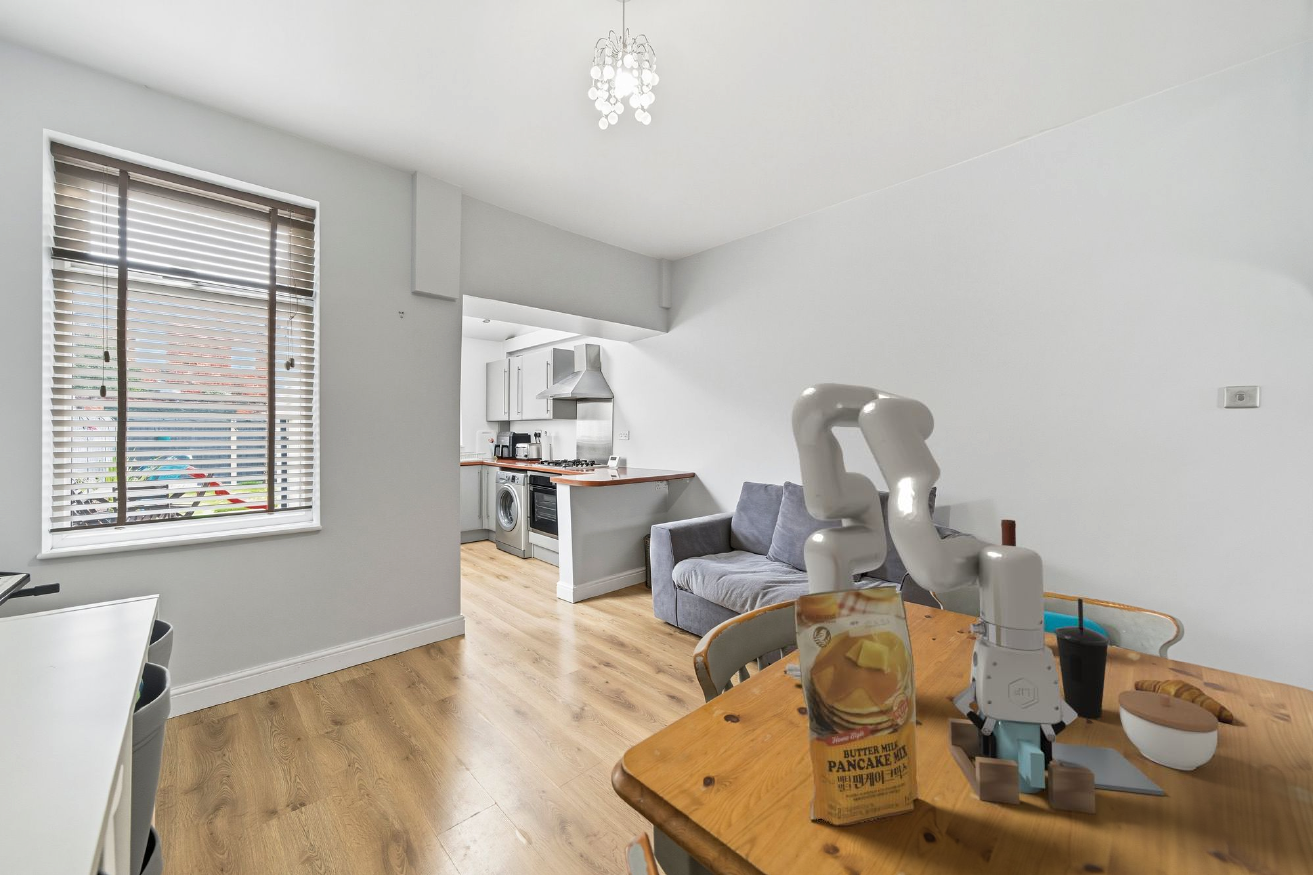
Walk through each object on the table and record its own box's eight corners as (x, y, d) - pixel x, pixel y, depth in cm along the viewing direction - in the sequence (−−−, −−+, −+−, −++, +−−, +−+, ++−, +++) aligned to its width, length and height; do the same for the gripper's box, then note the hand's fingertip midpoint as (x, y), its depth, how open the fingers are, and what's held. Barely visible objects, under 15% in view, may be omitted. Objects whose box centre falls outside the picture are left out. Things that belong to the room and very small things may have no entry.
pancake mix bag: (783, 799, 68) (780, 589, 69) (903, 776, 73) (899, 580, 73) (809, 836, 61) (806, 604, 62) (940, 808, 66) (936, 593, 67)
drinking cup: (1123, 725, 86) (1119, 606, 86) (1071, 720, 87) (1068, 604, 88) (1094, 703, 93) (1091, 594, 94) (1047, 699, 95) (1044, 592, 95)
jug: (1012, 806, 67) (1010, 721, 67) (982, 763, 76) (980, 689, 76) (1064, 812, 65) (1062, 726, 66) (1027, 768, 74) (1026, 692, 75)
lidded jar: (1117, 730, 84) (1115, 673, 85) (1211, 754, 78) (1209, 692, 78) (1122, 761, 76) (1120, 698, 76) (1228, 791, 69) (1225, 721, 69)
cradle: (980, 799, 68) (979, 761, 68) (948, 750, 79) (948, 717, 79) (1095, 813, 65) (1094, 774, 65) (1046, 760, 76) (1045, 726, 76)
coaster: (1079, 786, 70) (1079, 781, 70) (1040, 745, 80) (1040, 741, 80) (1164, 795, 68) (1164, 791, 68) (1113, 752, 78) (1113, 748, 78)
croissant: (1244, 722, 87) (1243, 693, 87) (1222, 730, 85) (1221, 699, 85) (1146, 688, 100) (1145, 662, 100) (1124, 693, 98) (1124, 667, 98)
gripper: (955, 639, 71) (958, 770, 70) (1098, 648, 67) (1102, 786, 67) (937, 621, 78) (939, 740, 77) (1064, 629, 74) (1068, 753, 74)
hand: (1014, 760), depth 72 cm, fingers closed on jug, 6 cm apart
